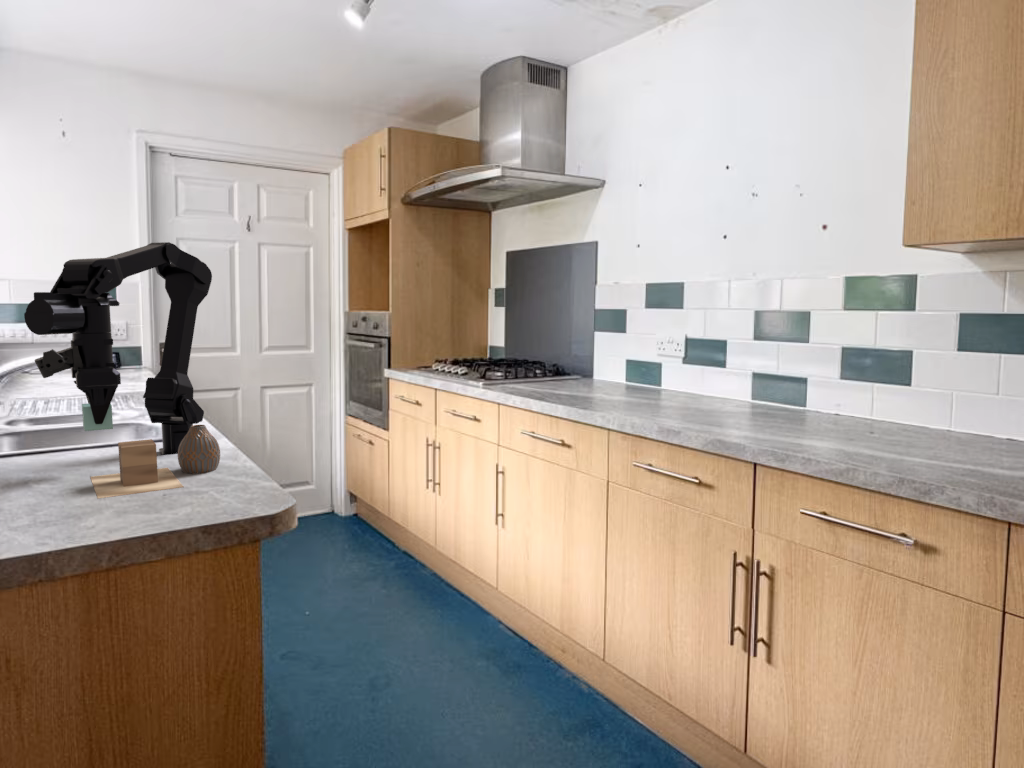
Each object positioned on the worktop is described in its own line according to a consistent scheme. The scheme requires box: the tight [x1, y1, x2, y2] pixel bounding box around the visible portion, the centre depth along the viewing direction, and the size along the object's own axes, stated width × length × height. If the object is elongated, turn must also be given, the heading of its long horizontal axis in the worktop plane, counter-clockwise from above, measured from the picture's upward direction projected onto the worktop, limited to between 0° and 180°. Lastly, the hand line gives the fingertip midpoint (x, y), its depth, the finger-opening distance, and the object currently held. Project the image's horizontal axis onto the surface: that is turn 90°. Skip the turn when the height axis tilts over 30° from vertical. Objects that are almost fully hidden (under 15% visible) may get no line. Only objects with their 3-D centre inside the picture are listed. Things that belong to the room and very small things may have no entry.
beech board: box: [90, 467, 185, 500], centre depth 117 cm, size 16×12×1 cm
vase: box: [177, 424, 221, 475], centre depth 125 cm, size 7×7×9 cm
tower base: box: [118, 461, 158, 487], centre depth 117 cm, size 5×5×3 cm
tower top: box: [117, 438, 158, 467], centre depth 116 cm, size 5×5×3 cm
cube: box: [81, 403, 114, 432], centre depth 123 cm, size 4×4×4 cm
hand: (97, 422), depth 123 cm, fingers closed on cube, 4 cm apart
